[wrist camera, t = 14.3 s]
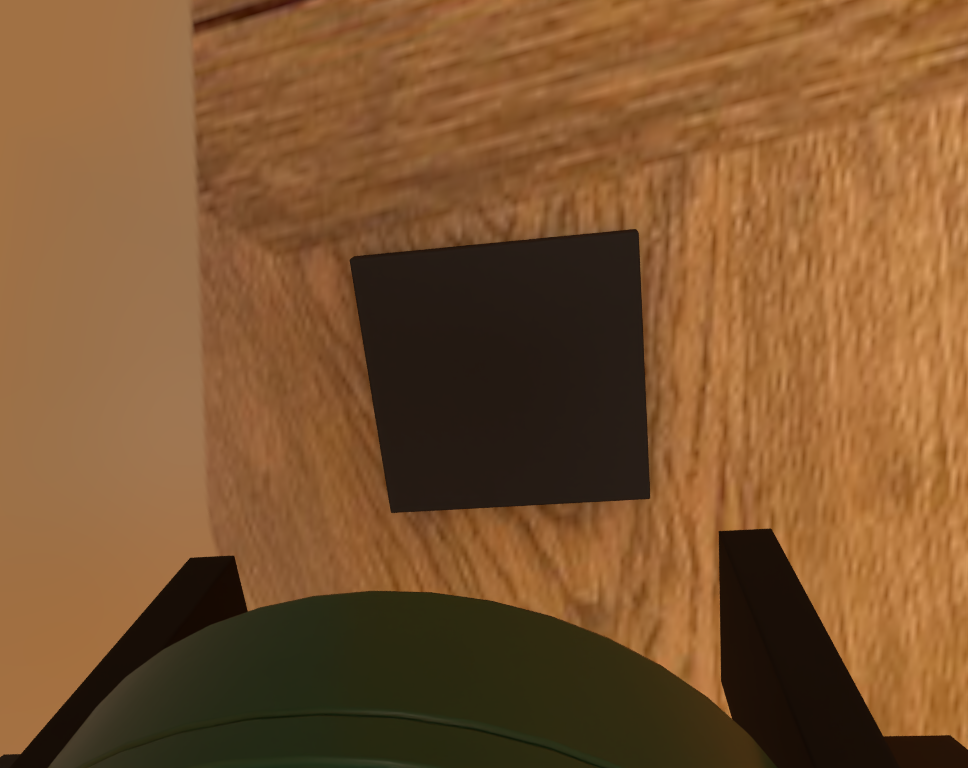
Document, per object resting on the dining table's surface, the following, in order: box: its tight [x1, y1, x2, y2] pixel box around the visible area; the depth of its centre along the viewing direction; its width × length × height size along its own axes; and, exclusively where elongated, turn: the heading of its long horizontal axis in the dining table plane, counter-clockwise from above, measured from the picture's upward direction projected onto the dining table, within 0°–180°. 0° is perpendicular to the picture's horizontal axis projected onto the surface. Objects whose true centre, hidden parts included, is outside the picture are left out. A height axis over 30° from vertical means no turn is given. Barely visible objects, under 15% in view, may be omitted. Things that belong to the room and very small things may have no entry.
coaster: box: [350, 229, 650, 513], centre depth 28 cm, size 10×10×1 cm
